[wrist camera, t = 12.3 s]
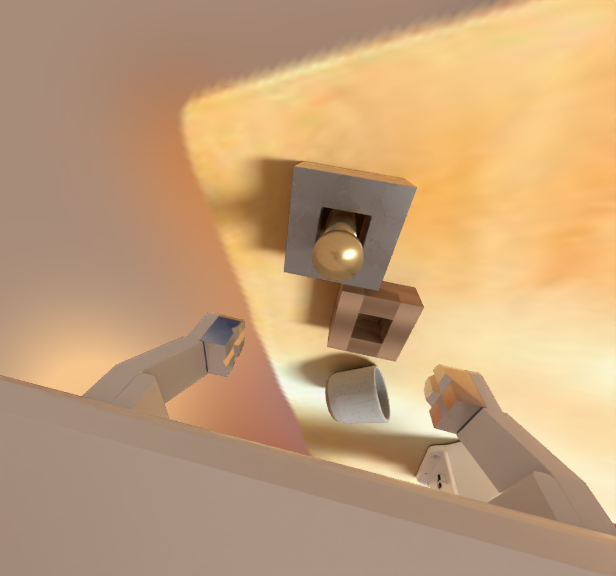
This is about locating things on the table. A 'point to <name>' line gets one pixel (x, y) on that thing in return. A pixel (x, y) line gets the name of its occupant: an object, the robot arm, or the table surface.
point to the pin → (338, 248)
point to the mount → (370, 335)
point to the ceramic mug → (358, 396)
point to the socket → (354, 198)
